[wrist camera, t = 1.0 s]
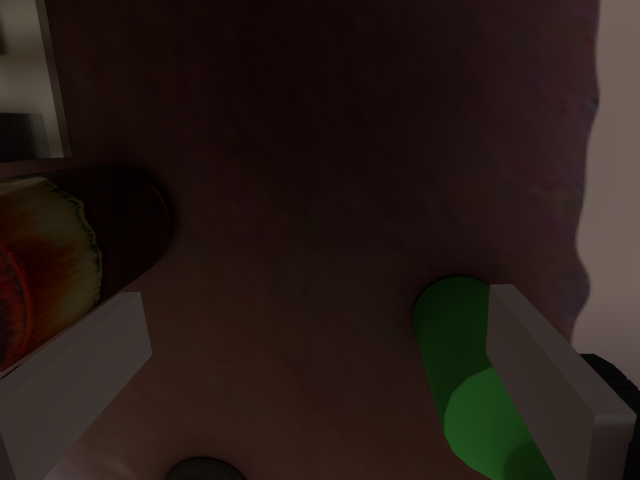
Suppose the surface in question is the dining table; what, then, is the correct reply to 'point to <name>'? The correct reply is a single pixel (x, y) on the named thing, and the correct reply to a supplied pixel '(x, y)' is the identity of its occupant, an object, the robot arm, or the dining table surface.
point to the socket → (23, 137)
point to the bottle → (472, 383)
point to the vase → (72, 247)
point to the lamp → (203, 470)
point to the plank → (31, 70)
